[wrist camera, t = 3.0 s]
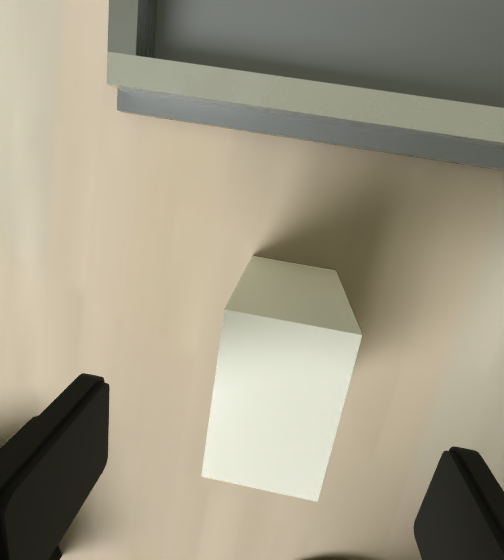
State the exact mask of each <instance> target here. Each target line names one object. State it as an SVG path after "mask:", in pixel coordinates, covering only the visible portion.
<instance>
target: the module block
mask: <svg viewBox="0 0 504 560" xmlns="http://www.w3.org/2000/svg"><path fill="white" fill-rule="evenodd" d="M361 338H362V333H361V330H360V328H359V326H358V323H357V321H356V318H355V316H354V313H353V311H352V308H351V306H350V304H349V301H348V299H347V296H346V294H345V291H344V289H343V286H342V284H341V281H340V279H339V277H338V274H337V272H336V270H331V269H325V268H320V267H314V266H308V265H303V264H297V263H291V262H286V261H280V260H274V259H269V258H263V257H257V256H252V257H251V259H250V261H249V263H248V265H247V267H246V269H245V271H244V273H243V275H242V277H241V278H240V280H239V282H238V284H237V286H236V288H235V290H234V292H233V294H232V296H231V298H230V300H229V302H228V304H227V306H226V307H225V310H224V317H223V324H222V331H221V338H220V345H219V353H218V360H217V367H216V374H215V381H214V389H213V396H212V403H211V410H210V417H209V425H208V432H207V439H206V446H205V453H204V461H203V468H202V475H201V476H202V477H207V478H211V479H216V480H220V481H225V482H230V483H234V484H239V485H243V486H248V487H252V488H257V489H261V490H266V491H271V492H275V493H280V494H284V495H289V496H293V497H298V498H303V499H307V500H312V501H316V502H318V498H319V494H320V491H321V487H322V483H323V480H324V476H325V472H326V468H327V465H328V461H329V457H330V454H331V450H332V446H333V442H334V439H335V435H336V431H337V428H338V424H339V420H340V416H341V413H342V409H343V405H344V402H345V398H346V394H347V390H348V387H349V383H350V379H351V376H352V372H353V368H354V364H355V361H356V357H357V353H358V350H359V346H360V342H361Z"/></svg>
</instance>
